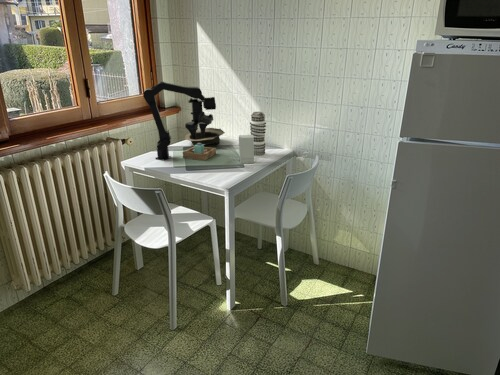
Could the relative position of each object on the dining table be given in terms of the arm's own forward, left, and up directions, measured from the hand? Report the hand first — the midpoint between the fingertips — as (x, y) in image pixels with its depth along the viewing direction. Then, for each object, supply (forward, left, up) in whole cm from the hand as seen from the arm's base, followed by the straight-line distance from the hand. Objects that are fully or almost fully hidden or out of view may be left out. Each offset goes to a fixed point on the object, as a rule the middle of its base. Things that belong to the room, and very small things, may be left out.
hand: (199, 137), depth 221 cm
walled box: (0, 0, -11) cm, 11 cm away
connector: (0, 0, -10) cm, 10 cm away
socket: (0, 0, -11) cm, 11 cm away
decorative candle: (+14, -31, -11) cm, 36 cm away
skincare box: (0, -30, -11) cm, 32 cm away
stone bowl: (+22, +10, -11) cm, 26 cm away
